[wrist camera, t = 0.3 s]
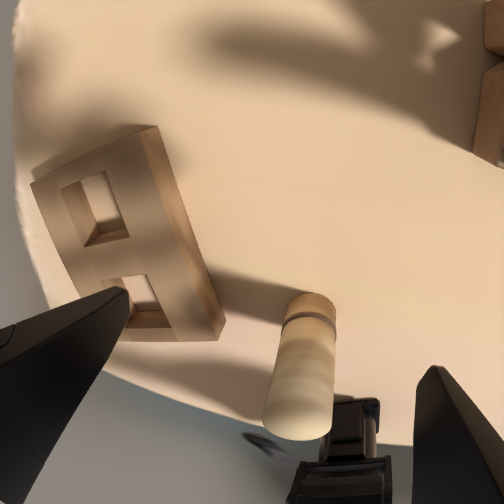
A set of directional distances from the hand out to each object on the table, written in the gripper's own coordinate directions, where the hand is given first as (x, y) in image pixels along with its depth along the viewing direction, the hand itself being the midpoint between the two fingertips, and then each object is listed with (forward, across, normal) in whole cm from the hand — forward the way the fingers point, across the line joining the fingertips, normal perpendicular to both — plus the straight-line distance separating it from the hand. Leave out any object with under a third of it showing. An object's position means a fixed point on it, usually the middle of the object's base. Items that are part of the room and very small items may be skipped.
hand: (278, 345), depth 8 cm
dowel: (+14, -2, +9) cm, 16 cm away
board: (+13, +13, +7) cm, 20 cm away
